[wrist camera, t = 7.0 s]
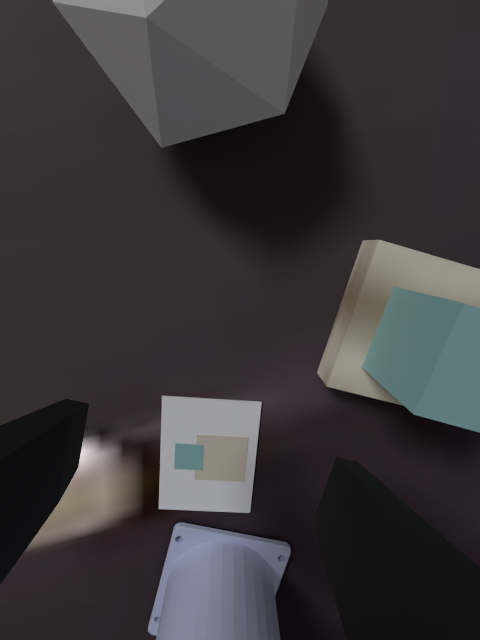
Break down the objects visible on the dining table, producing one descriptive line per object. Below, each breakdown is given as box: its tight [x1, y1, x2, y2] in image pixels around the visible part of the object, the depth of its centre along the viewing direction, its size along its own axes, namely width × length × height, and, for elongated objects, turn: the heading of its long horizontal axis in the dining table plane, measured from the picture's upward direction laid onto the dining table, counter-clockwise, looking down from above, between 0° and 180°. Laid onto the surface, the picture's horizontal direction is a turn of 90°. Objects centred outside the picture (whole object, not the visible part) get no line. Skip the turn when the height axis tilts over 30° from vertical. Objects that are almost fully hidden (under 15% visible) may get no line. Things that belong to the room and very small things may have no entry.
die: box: [53, 0, 328, 148], centre depth 12 cm, size 8×9×10 cm
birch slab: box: [317, 240, 480, 406], centre depth 18 cm, size 8×8×2 cm
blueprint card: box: [159, 396, 262, 513], centre depth 20 cm, size 8×6×1 cm
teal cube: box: [362, 287, 480, 433], centre depth 14 cm, size 4×4×5 cm
